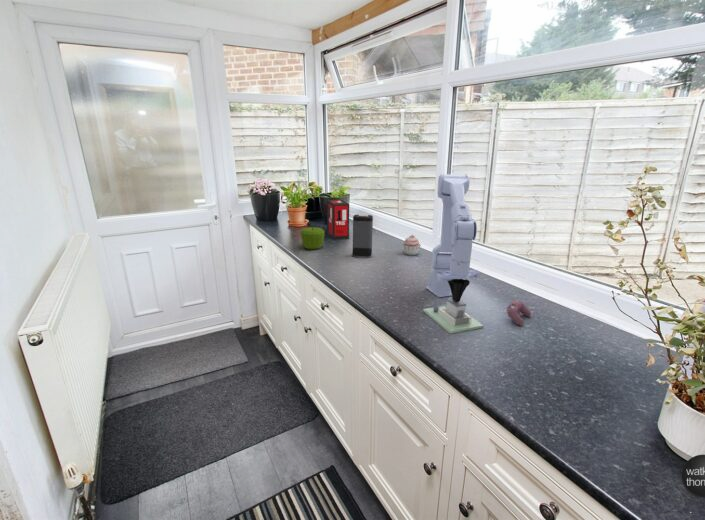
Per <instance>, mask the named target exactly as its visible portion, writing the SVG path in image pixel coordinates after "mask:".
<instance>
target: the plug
mask: <svg viewBox="0 0 705 520" xmlns="http://www.w3.org/2000/svg"><path fill="white" fill-rule="evenodd" d="M466 305H467V304H466V302H464V301H462V299H460V301H459V302H455V301H454V300H452V297H451V298H447V299H446V305H445V306H446V313H448V314H449V315H450V316H452V317H453V318H460V317H464V315H465V313H466V307H467V306H466Z"/></svg>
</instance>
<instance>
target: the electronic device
mask: <svg viewBox="0 0 705 520" xmlns="http://www.w3.org/2000/svg"><path fill="white" fill-rule="evenodd" d="M373 218H374V216H373V215H371V214H367V215H360V214H354V215H353V216H352V257H353V258H365V257H366V259H367V258H368V259H369V257H370V258H372V255H373V253H372V251H373V224H374V223H373V221H374V219H373Z"/></svg>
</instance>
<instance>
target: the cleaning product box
mask: <svg viewBox="0 0 705 520" xmlns="http://www.w3.org/2000/svg"><path fill="white" fill-rule="evenodd" d="M326 233H327V235H328V236H329V237H331V238H332V239H333V241H335V240H338V241H339V240H349V239H350V204H349V202H347V201H345V200H342V199H326Z"/></svg>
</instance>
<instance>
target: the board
mask: <svg viewBox="0 0 705 520" xmlns="http://www.w3.org/2000/svg"><path fill="white" fill-rule="evenodd" d="M446 306H447V305H441V306H438V305H434V306H432V307H428V308H423V312H424V313H425V314H426V315H427V316H428V317H430V318H431V319H432V320H433V321H434V322H436V323H437V325H439V326H440V327H442V328H443V329H444V330H445V331H446V332H448V334H451V335H452V334H455V333H461V332H466V331H472V330H478V329H483V328H484V324H482V323H480V321H478V320H477V319H475V318H474V317H472V316H471V315H469V314H468V313H467V312H465V315H464V317H460V318H453V317H452V316H450V315H449V314H448V313H446Z"/></svg>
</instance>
